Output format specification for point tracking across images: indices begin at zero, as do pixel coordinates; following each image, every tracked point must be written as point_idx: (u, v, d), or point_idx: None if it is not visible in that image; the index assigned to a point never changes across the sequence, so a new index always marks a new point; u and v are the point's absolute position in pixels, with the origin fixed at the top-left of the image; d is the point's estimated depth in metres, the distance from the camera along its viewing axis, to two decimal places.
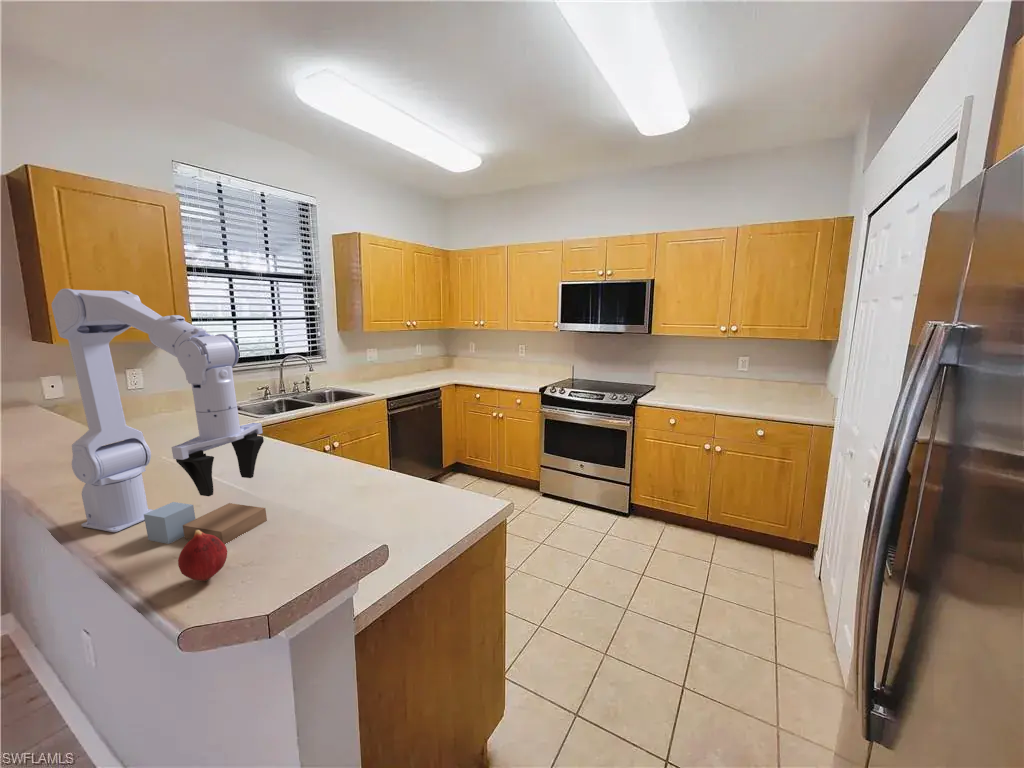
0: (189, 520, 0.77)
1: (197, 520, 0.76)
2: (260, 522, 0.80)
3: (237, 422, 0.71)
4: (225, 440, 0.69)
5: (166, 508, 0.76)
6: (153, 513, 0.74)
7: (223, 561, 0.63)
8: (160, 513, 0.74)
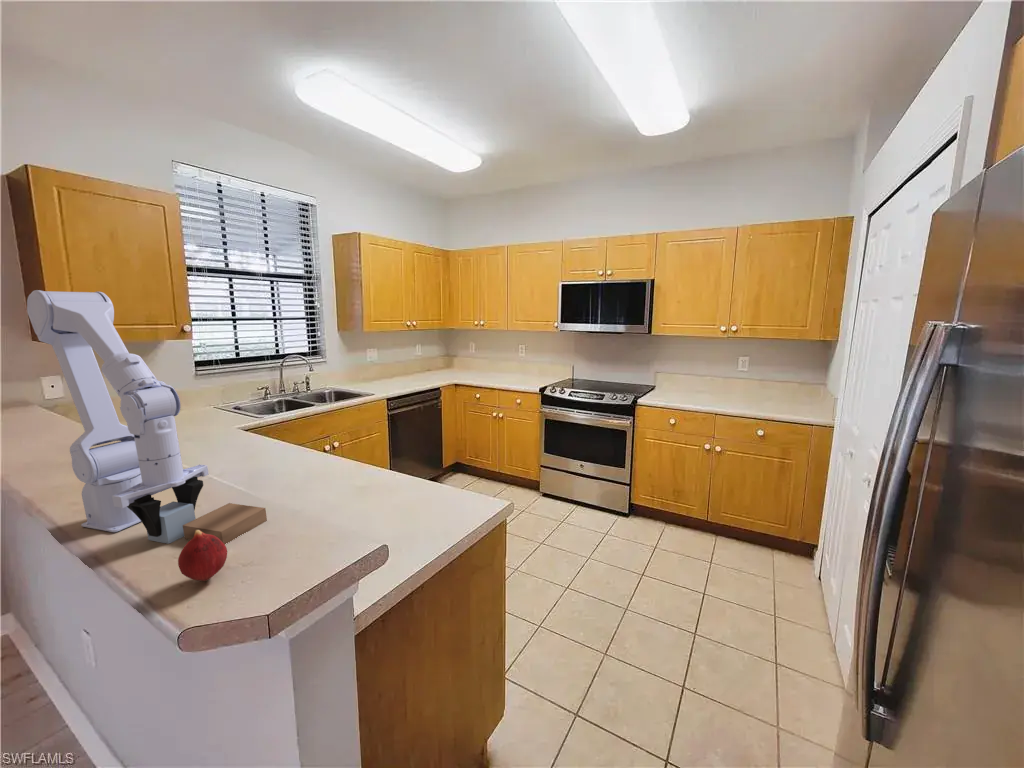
0: (189, 519, 0.77)
1: (197, 520, 0.76)
2: (260, 522, 0.80)
3: (179, 468, 0.75)
4: (166, 486, 0.73)
5: (166, 507, 0.76)
6: None
7: (223, 561, 0.63)
8: (160, 512, 0.74)
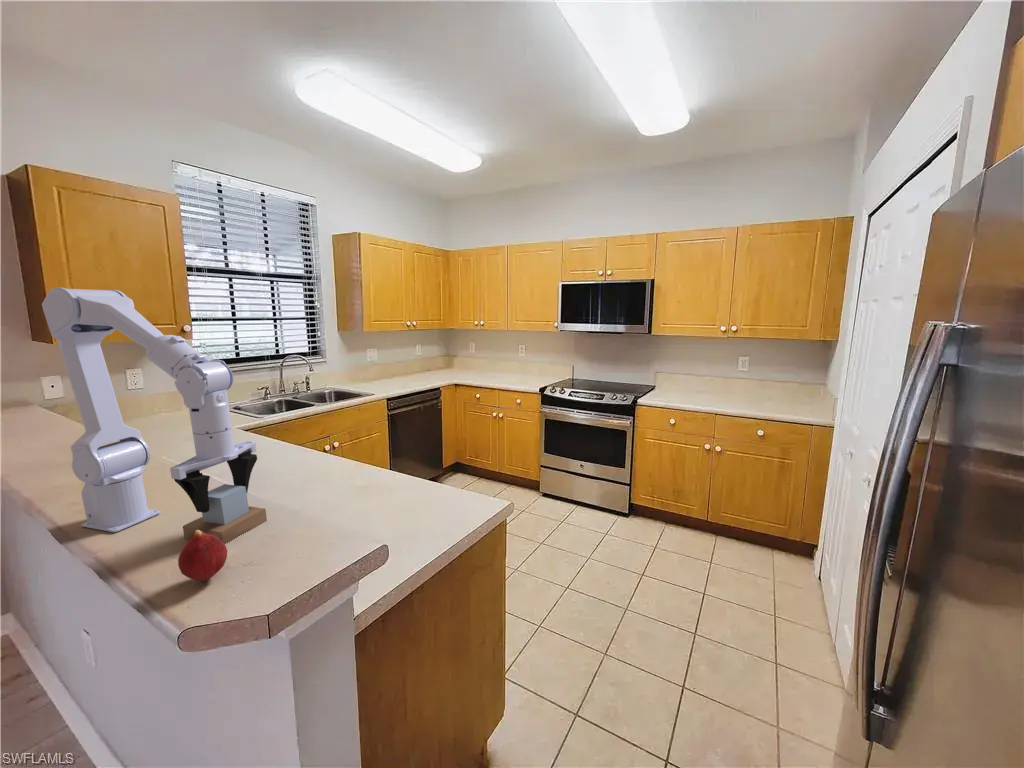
0: (242, 501, 0.78)
1: (197, 521, 0.76)
2: (260, 523, 0.80)
3: (232, 442, 0.76)
4: (220, 460, 0.74)
5: (219, 490, 0.77)
6: (208, 494, 0.76)
7: (223, 561, 0.63)
8: (215, 494, 0.76)
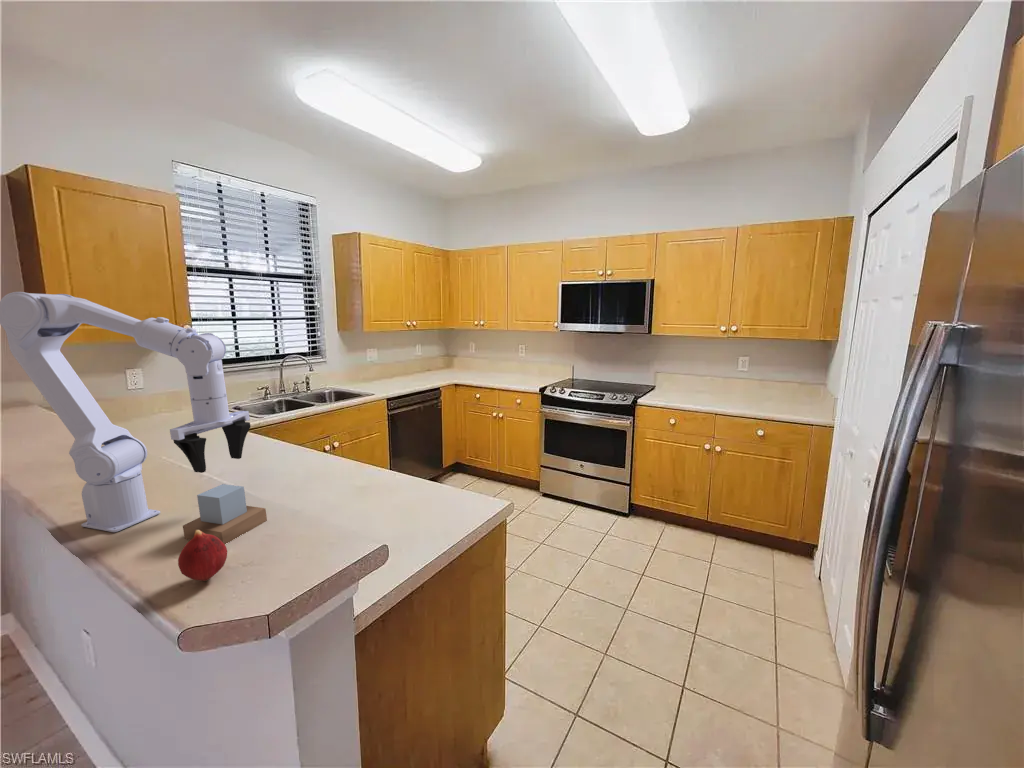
0: (240, 501, 0.78)
1: (197, 520, 0.76)
2: (260, 522, 0.80)
3: (226, 409, 0.82)
4: (216, 424, 0.80)
5: (218, 489, 0.77)
6: (207, 494, 0.75)
7: (223, 561, 0.63)
8: (213, 494, 0.75)
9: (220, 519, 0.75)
